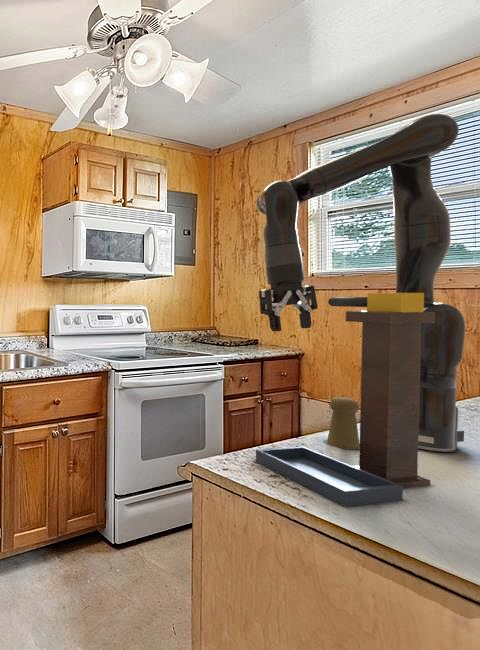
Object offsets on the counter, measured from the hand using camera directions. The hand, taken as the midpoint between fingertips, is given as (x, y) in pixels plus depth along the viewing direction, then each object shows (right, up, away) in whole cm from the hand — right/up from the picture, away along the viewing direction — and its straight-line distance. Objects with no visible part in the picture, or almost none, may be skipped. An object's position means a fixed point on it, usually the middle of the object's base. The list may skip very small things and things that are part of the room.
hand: (291, 329), depth 104 cm
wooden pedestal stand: (+2, -27, -23) cm, 36 cm away
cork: (+9, -27, -4) cm, 29 cm away
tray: (-10, -28, -23) cm, 37 cm away
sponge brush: (+1, +5, -20) cm, 20 cm away
